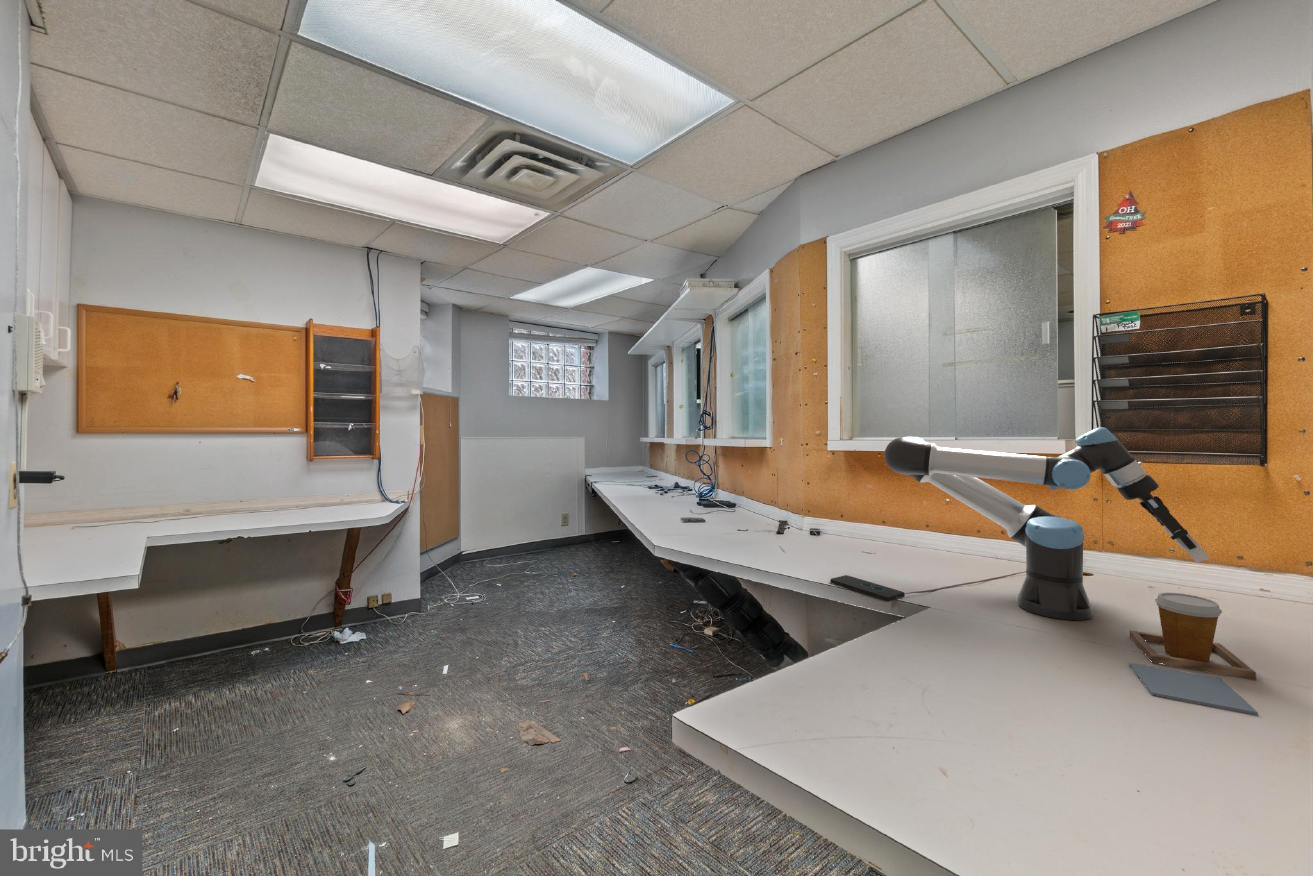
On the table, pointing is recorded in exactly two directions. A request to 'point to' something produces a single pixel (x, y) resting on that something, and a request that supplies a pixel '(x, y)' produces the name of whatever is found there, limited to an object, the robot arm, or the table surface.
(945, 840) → the table surface
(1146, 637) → the cup holder frame
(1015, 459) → the robot arm
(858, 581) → the smart home device
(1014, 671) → the table surface
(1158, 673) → the rubber mat
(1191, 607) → the disposable coffee cup
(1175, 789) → the table surface
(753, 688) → the table surface
